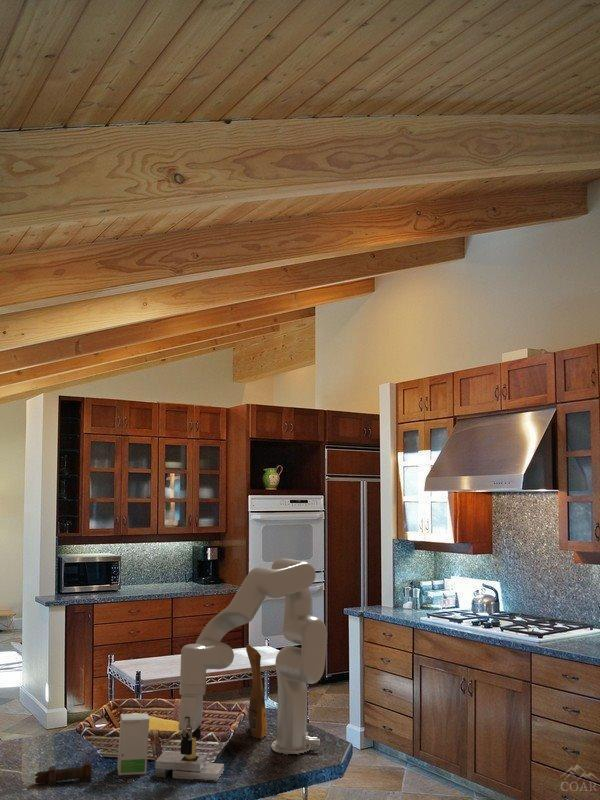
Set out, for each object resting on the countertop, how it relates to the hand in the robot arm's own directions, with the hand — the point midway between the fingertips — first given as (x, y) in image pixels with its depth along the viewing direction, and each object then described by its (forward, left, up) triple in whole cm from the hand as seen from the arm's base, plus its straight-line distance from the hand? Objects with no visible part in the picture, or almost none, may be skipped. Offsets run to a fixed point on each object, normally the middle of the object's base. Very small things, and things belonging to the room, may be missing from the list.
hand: (190, 748), depth 235 cm
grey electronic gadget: (0, 0, -7) cm, 7 cm away
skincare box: (+17, +1, -7) cm, 19 cm away
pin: (0, 0, -7) cm, 7 cm away
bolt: (+33, +13, -8) cm, 36 cm away
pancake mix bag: (-12, -41, -7) cm, 43 cm away
